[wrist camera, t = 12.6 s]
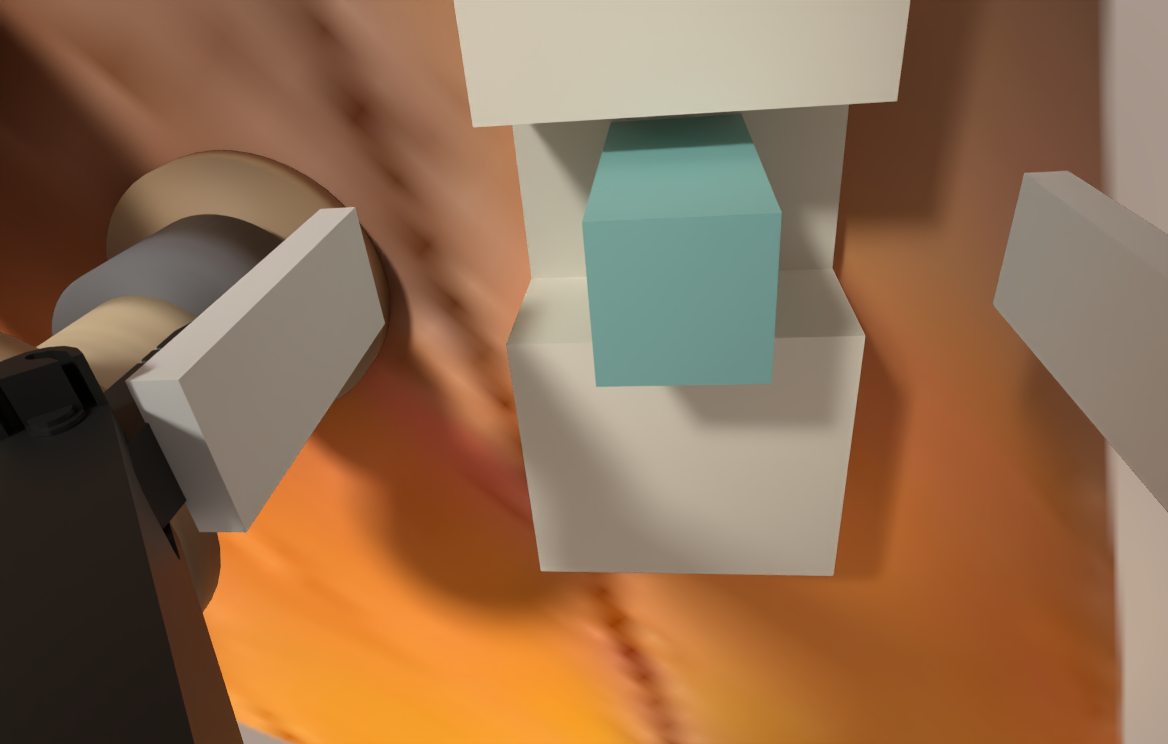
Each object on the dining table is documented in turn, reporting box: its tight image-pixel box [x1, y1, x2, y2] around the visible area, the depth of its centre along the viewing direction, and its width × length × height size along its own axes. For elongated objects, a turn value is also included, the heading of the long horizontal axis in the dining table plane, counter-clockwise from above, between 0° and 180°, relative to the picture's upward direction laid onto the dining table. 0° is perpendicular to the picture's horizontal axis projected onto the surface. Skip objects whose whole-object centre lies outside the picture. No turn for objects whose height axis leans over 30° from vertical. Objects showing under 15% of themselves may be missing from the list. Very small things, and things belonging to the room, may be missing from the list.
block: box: [582, 114, 782, 387], centre depth 17 cm, size 4×4×8 cm
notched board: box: [454, 0, 910, 576], centre depth 19 cm, size 22×9×5 cm, turn 4°
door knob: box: [0, 150, 390, 613], centre depth 19 cm, size 9×9×12 cm
